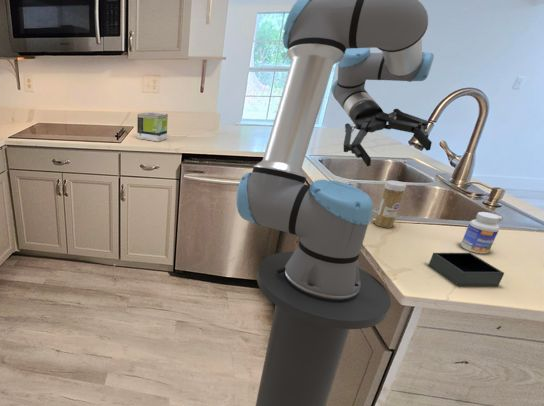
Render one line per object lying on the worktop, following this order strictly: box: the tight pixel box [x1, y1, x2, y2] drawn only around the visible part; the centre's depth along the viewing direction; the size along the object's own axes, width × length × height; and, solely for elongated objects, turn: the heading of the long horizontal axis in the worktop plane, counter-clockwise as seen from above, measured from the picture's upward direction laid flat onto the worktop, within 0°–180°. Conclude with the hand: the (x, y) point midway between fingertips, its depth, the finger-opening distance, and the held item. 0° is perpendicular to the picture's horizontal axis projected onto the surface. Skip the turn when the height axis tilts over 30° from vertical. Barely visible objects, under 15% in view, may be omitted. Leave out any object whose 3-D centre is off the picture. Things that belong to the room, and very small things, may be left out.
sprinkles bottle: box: [374, 179, 407, 229], centre depth 106 cm, size 5×5×14 cm
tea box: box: [136, 111, 169, 142], centre depth 213 cm, size 15×10×15 cm
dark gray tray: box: [428, 252, 505, 287], centre depth 84 cm, size 8×8×4 cm
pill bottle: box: [460, 211, 501, 254], centre depth 93 cm, size 5×5×10 cm
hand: (398, 154), depth 97 cm, fingers open, 13 cm apart
